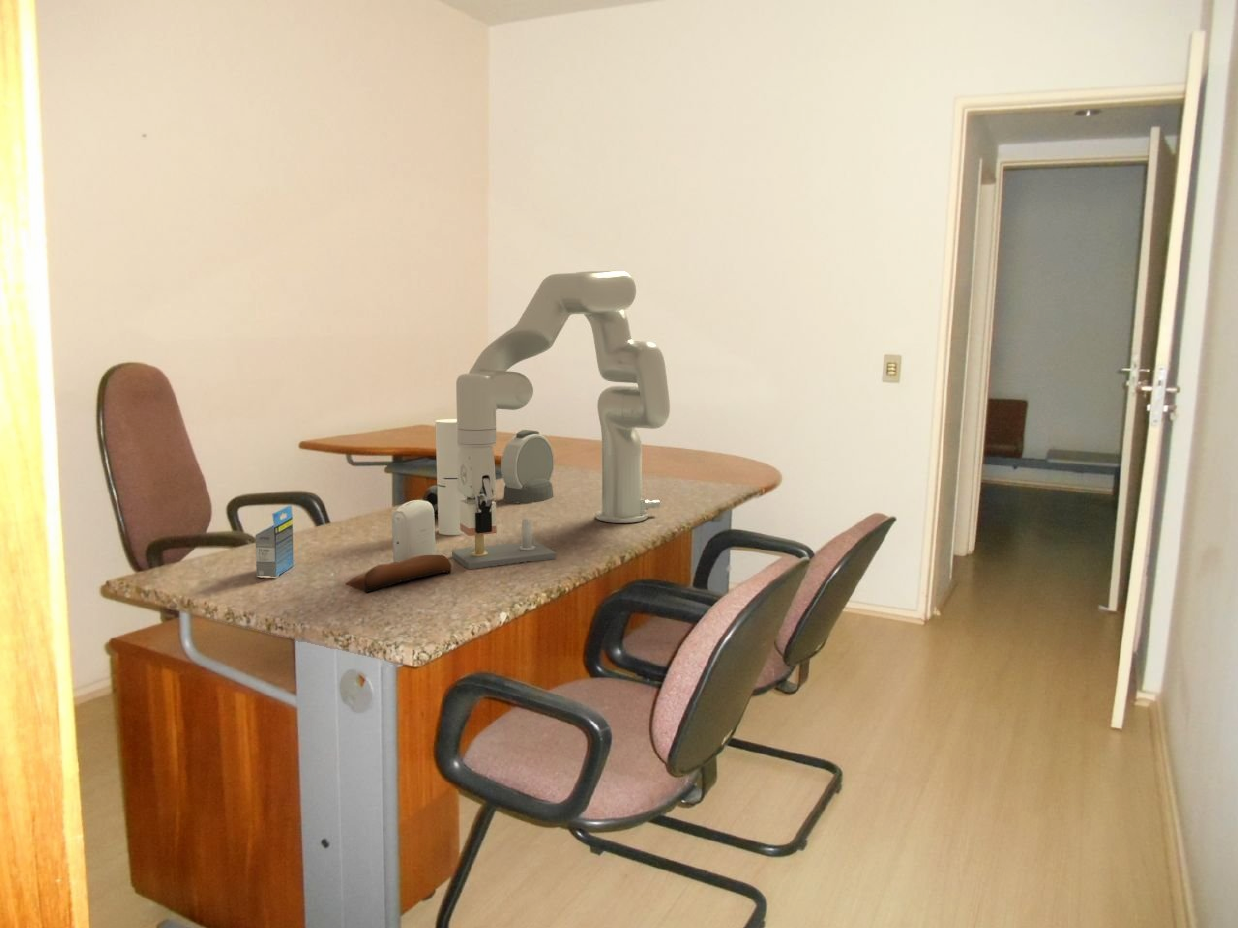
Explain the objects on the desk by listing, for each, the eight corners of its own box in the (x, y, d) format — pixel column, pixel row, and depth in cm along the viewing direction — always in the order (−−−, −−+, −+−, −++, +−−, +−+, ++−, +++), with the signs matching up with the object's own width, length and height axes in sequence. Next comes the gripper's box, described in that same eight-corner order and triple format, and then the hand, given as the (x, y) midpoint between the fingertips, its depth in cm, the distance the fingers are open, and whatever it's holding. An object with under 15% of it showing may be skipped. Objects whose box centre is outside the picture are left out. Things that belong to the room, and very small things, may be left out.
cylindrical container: (464, 535, 203) (461, 422, 199) (433, 534, 205) (430, 422, 201) (475, 528, 210) (473, 419, 206) (446, 527, 212) (442, 418, 208)
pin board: (535, 546, 194) (534, 511, 193) (555, 558, 184) (555, 521, 183) (451, 556, 186) (450, 519, 185) (468, 569, 176) (467, 530, 175)
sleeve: (460, 530, 183) (459, 500, 182) (487, 527, 185) (486, 498, 184) (468, 535, 178) (468, 505, 177) (496, 533, 180) (496, 502, 180)
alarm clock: (534, 491, 255) (533, 426, 252) (562, 496, 249) (562, 428, 247) (493, 501, 242) (492, 431, 240) (522, 505, 236) (521, 434, 234)
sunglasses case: (425, 564, 179) (435, 539, 176) (444, 589, 175) (454, 563, 172) (341, 584, 166) (349, 556, 163) (360, 611, 162) (369, 583, 159)
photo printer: (409, 571, 175) (406, 507, 173) (390, 568, 176) (387, 505, 175) (439, 558, 184) (437, 497, 182) (420, 556, 186) (418, 495, 184)
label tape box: (275, 566, 178) (271, 503, 176) (296, 566, 178) (292, 504, 176) (255, 579, 169) (251, 513, 167) (277, 579, 169) (274, 513, 167)
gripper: (445, 434, 185) (447, 522, 187) (472, 444, 170) (473, 540, 172) (481, 432, 188) (482, 519, 191) (510, 441, 173) (511, 536, 176)
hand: (478, 528), depth 182 cm, fingers closed on sleeve, 5 cm apart
